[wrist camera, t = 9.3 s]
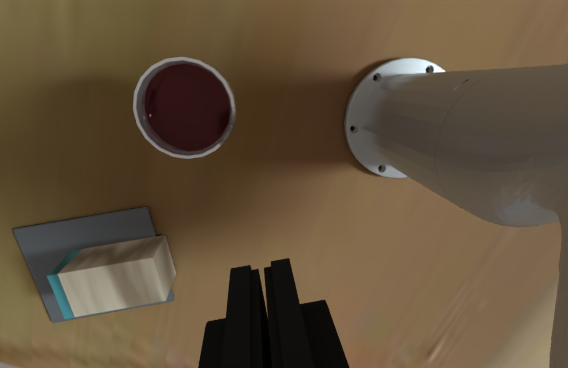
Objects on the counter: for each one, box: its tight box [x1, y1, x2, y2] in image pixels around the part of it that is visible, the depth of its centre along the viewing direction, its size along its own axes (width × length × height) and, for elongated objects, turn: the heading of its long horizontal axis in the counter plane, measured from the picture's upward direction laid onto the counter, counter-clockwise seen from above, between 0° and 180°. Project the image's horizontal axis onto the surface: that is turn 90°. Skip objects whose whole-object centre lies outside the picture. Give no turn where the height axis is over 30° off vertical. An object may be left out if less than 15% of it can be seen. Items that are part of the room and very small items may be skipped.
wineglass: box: [133, 57, 237, 159], centre depth 28 cm, size 7×7×12 cm
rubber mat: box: [13, 206, 174, 323], centre depth 37 cm, size 14×12×1 cm
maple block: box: [47, 235, 176, 319], centre depth 35 cm, size 5×5×10 cm
